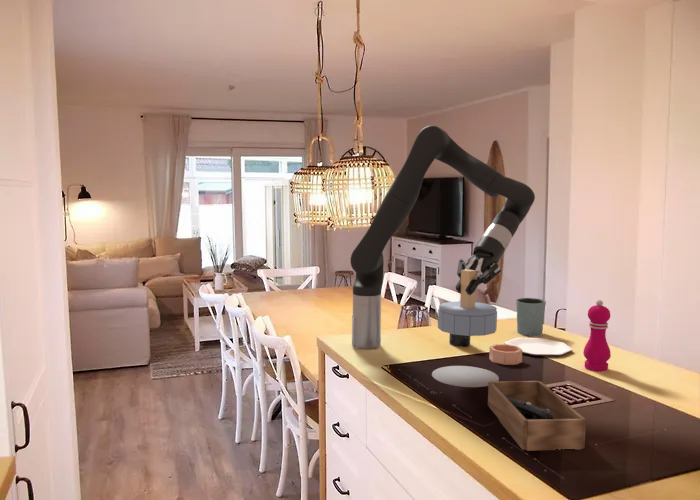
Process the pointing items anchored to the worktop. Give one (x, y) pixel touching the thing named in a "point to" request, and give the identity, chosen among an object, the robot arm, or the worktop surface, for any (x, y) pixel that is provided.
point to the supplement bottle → (459, 340)
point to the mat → (464, 376)
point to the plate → (540, 346)
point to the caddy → (540, 432)
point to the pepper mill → (597, 339)
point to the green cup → (530, 316)
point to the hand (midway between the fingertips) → (463, 291)
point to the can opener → (530, 410)
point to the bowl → (505, 354)
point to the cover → (467, 313)
